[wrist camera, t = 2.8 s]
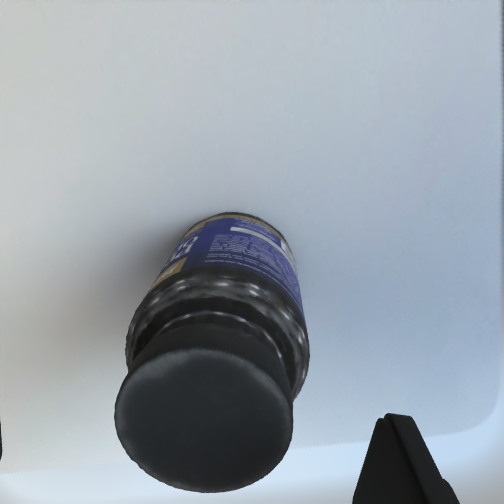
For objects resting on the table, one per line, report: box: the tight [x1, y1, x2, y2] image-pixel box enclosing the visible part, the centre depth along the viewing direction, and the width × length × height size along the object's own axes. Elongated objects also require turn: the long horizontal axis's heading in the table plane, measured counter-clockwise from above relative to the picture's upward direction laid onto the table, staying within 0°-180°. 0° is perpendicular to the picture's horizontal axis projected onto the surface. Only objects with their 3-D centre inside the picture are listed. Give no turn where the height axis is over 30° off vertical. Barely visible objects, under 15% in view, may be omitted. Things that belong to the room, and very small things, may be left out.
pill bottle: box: [114, 212, 310, 493], centre depth 16 cm, size 6×6×11 cm
